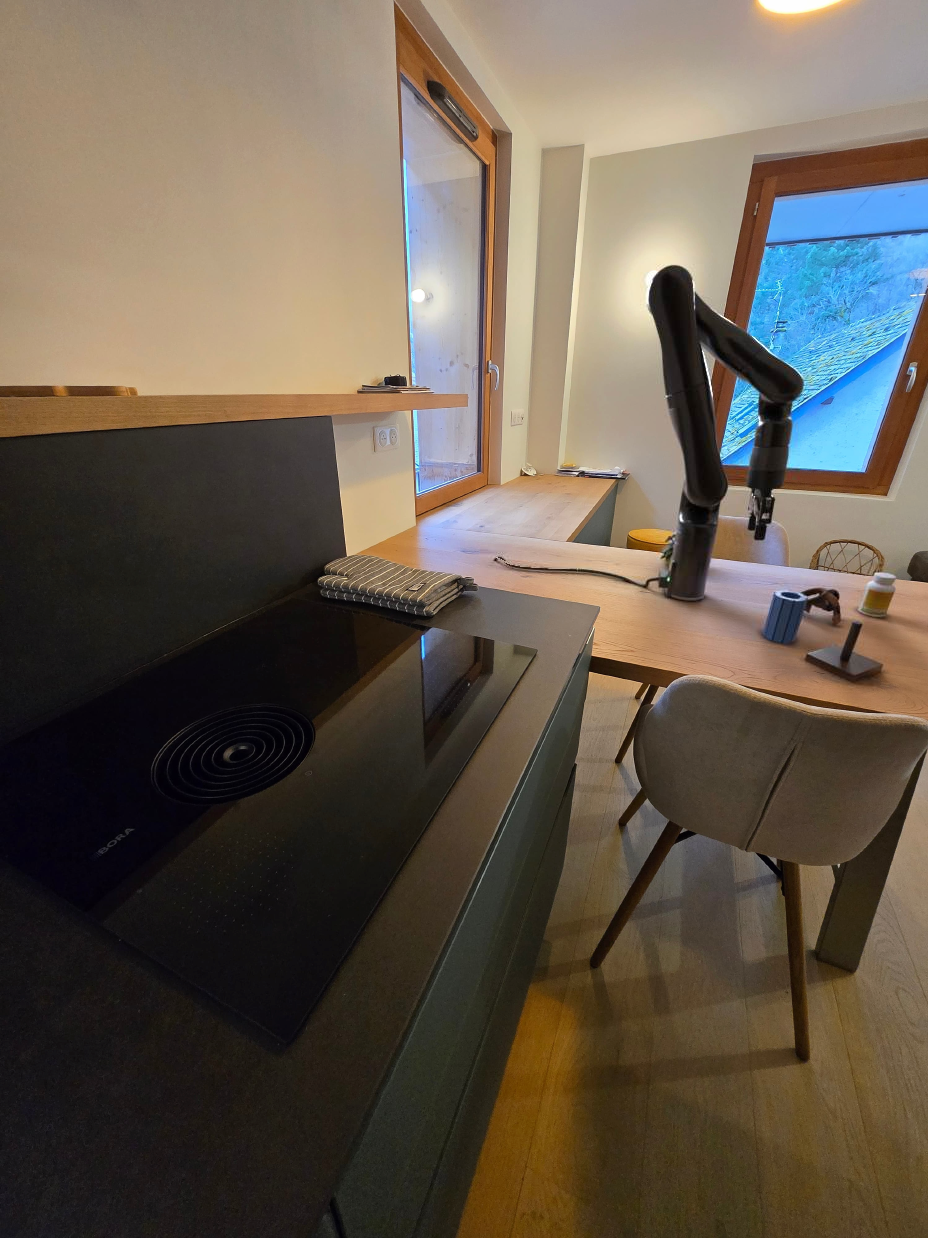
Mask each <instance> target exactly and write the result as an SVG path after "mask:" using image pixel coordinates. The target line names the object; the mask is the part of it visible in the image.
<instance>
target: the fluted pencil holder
mask: <svg viewBox="0 0 928 1238" xmlns="http://www.w3.org/2000/svg"><path fill="white" fill-rule="evenodd" d="M808 599H809V598H808V596H805V595H804V594H801V593H800V592H798V591H794V590H789V589H779V590H775V591H774V592H773V594H772V599H771V602H770V606H769V609H768V613H767V617H766V621H765V624H764V628H763V631H762V636H763V638H765V639H767V640H769V641H771V642H773V643H778V644H792V643H794V642H795V641H796V639H797V635H798V632H799V629H800V625H801V622H802V620H803V617H804V612H805V611H804V610H805V607H806V603H807V600H808Z"/></svg>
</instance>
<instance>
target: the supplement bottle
mask: <svg viewBox="0 0 928 1238" xmlns="http://www.w3.org/2000/svg"><path fill="white" fill-rule="evenodd" d="M896 579H897V576H896V575H894V574H892V573H888V572H875V573H874V574H873V577H872V580H870V581H869V582H867V584H866V585H865V588H864V592H863V594H862V597H861V599H860V602H859V605H858V608H857V610H858V612H859V613H861V614H863V615H865V616H869V617H874V618H882V617H885V616H886V615H887V613H888V610H889V607H890V605H891V602H892V600H893V597H894V595H895V592H896V586H895V585H894V584H895V582H896Z"/></svg>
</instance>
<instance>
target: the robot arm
mask: <svg viewBox="0 0 928 1238" xmlns="http://www.w3.org/2000/svg"><path fill="white" fill-rule="evenodd" d="M645 302H646V307H647V310H648V312H649V314H650V315H651V317H652V319H653V321H654V325H655V329H656V332H657V336H658V339H659V343H660V348H661V365H662V379H663V386H664V387H663V388H664V396H665V400H666V405H667V409H668V414H669V418H670V420H671V425H672V428H673V431H674V435H675V436H676V439H677V442H678V445H679V447H680V450H681V453H682V454H681V455H682V458H683V459H682V460H683V467H684V476H685V477H684V480H683V484H682V490H681V497H680V501H679V508H678V513H677V515H678V516H677V524H676V525H677V526H676V531H675V534H676V536H675V537H674V541H675V542H674V548H673V554H672V556H671V559H670V565H669V569H668V570H663V569H659V570H658V577H657V576H656V577H650V578H648V579H647V580H645V583H644V584H640V583H639V582H635V581H633V580H632V579H629V578H627V577H625V576H622V575H619V574H616V573H611V572H606V571H602V570H595V569H588V568H587V569H586V568H570V569H548V568H549V567H540V568H531V567H532V566H526V567H520V566H521V565H518V566H515V565H516V564H513V565H510V564H507V563H505V562H503V563H504V564H505V565H506V566H508V567H510V568H513V569H518V570H529V571H541V572H543V571H545V572H570V573H571V572H573V573H574V572H575V573H589V574H595V575H602V576H606V577H611V578H614V579H619V580H622V581H624V582H626V583H629V584H632V585H635V586H638V587H641V588H648V587H649V586H650V583H652V582H657V587H658V588H657V589H665V597H667V598H673V599H676V600H679V601H686V602H696V601H701V600H702V599H704V596H705V591H706V586H707V582H708V581H707V580H708V576H709V571H710V566H711V563H712V558H713V557H712V556H713V552H714V546H715V543H716V539H717V534H718V528H719V520H720V519H719V516H720V508H721V502H722V501H723V500H724V498H725V497H726V495H727V493H728V489H729V480H728V477H727V474H726V471H725V468H724V464H723V462H722V459H721V454H720V450H719V446H718V441H717V440H718V439H717V427H716V426H717V425H716V413H715V406H714V405H715V404H714V397H713V391H712V390H713V389H712V385H711V381H710V380H711V379H710V375H709V370H708V365H707V362H706V359H705V358H706V357H705V355H704V354H705V353H704V351H703V349H704V350H705V351H706V352H707V353H708V354H710V356H712V357H713V358H714V359H715V360H716V361H717V362H719V364H721V365H722V366H723V367H724V368H725V369H727V370H728V371H729V372H730V373H732V374H733V375H734V377H736V378H738V379H739V380H741V381H743V382H745V383H748V384H749V385H750V386H751V387H752V388H753V389H755V391H756V392H757V393H758V401H757V422H756V423H757V424H756V429H755V433H754V439H753V446H752V450H751V453H750V457H749V463H748V469H747V476H746V480H745V481H746V482H745V486H746V487H747V489H750V497H749V502H748V506H747V511H748V515H749V517H748V521H747V522H748V523H747V530H748V531H750V532H753V531H754V533H753V539H754V541H765V539H766V534H767V529H768V525H771V524H772V520H773V515H774V514H773V513H774V507H775V502H776V497H774V496H773V494H772V491H773V490H779V489H781V488H783V486H784V483H785V477H786V472H787V466H788V461H789V456H790V455H789V454H790V444H791V438H792V433H793V425H794V424H793V423H794V421H793V420H792V408H793V402H795V401H796V400H797V399H798V398H799V397H800V396H801V394H802V393H803V390H804V386H805V382H804V377H803V376H802V374H801V373H800V372H799V371H798V370H797V369H795V368H794V366H792V365H790V364H789V363H788V362H786V361H785V360H783V359H781V358H779V357H778V356H777V355H775V354H774V353H772V352H771V351H770V350H768V349H767V347H765V345H764V344H762V343H761V342H760V341H758V340H757V339H756V338H755V337H754V336H753V335H751V334H750V333H749V332H747V331H746V330H744V328H742V327H740V326H739V325H737V324H736V323H734V322H732V321H731V320H729V319H728V318H726V317H724V316H722V315H721V314H719V313H718V312H717V311H716V310H714V309H713V308H712V307H710V306H709V305H708V304H707V303H706V302H705V301H704V300H703V298H701V297H700V295H699V294H698V293H697V292H696V291H695V282H694V279H693V276H692V275H691V273H690V271H689V270H688V269H687V268H686V267H684V266H682V265H678V264H670V265H667V266H665V267H662V268H661V269H660V270H658V271H657V273H655V275H654V276H653V277H652V278H651V281H650V282H649V285H648V287H647V290H646V297H645ZM763 517H765V518H763ZM497 557H498V558H500V559H497V558H496V557H495V558H493V561H495V562H496V561H498V560H501V559H502V560H504V561H507V560H506V559H505V558H504V557H503V556H497ZM502 560H501V561H502ZM577 569H578V570H577Z"/></svg>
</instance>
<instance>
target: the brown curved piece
mask: <svg viewBox="0 0 928 1238" xmlns="http://www.w3.org/2000/svg"><path fill="white" fill-rule="evenodd" d="M799 593H801V594H804V595H805V596H807V597H810V596H814V597H812V598H808V600H807V603H806V607H805V610H804V612H806V613H808V614H810V613H811V609H812V607H813V606H814V608H818V609H821V610H822V611H825V612H828V613H829V612H830V613H831V612H832V617H831V620H832V626H833V627H836V626H838V625H839V624H840V623H841V622H842V614H841V606H840V602H839V601H840V598H841V597H840V593H839V591H838V590H836V589H834V588H831V589H827V588H826V587H813V588H812V587H811V588H808V589H805V590H803V591H800V592H799Z"/></svg>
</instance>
